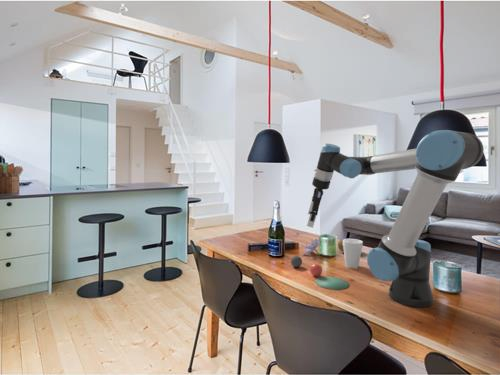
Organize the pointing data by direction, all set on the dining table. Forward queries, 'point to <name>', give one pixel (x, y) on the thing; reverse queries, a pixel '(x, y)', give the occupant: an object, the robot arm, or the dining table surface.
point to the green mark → (332, 283)
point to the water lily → (314, 244)
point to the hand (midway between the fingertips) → (310, 220)
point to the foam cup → (352, 252)
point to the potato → (340, 245)
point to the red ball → (316, 269)
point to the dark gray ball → (296, 261)
